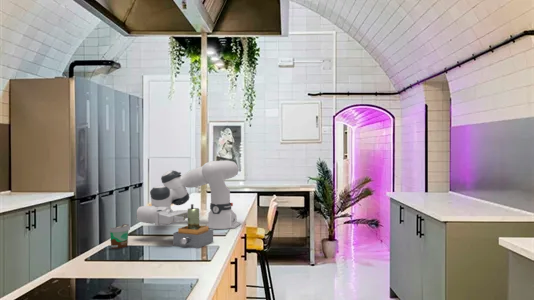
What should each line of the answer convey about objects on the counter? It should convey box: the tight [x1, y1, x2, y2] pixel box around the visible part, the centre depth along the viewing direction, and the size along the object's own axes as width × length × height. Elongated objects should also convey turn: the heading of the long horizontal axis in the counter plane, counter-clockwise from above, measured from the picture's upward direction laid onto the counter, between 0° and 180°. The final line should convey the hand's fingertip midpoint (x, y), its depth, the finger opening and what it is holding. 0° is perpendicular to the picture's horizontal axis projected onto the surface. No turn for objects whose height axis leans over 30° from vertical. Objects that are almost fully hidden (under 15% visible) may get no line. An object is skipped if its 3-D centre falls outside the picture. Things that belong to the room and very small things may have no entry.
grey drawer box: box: [172, 225, 214, 249], centre depth 218 cm, size 17×14×8 cm
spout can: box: [187, 203, 200, 229], centre depth 220 cm, size 6×6×13 cm
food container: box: [109, 223, 131, 250], centre depth 213 cm, size 12×6×10 cm, turn 168°
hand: (189, 217), depth 220 cm, fingers open, 8 cm apart
